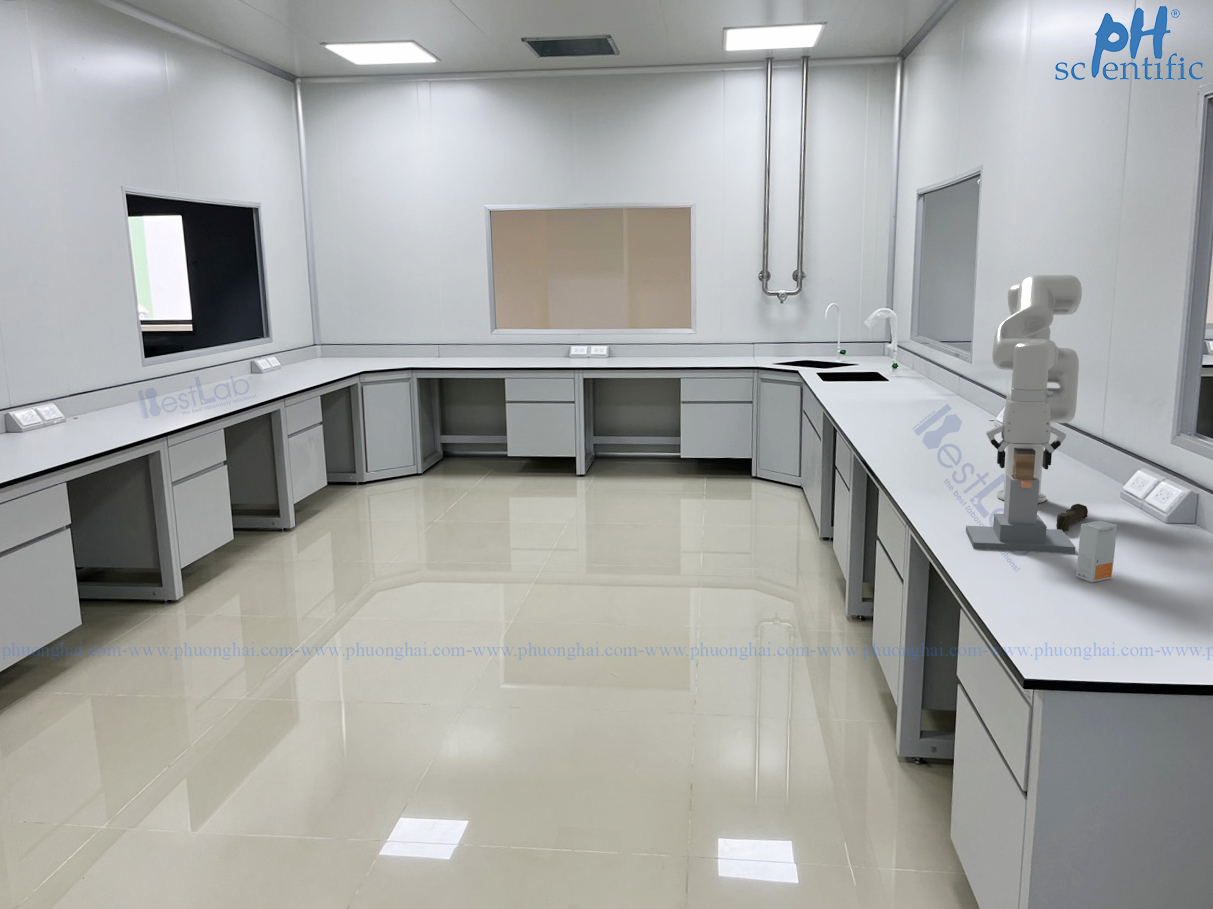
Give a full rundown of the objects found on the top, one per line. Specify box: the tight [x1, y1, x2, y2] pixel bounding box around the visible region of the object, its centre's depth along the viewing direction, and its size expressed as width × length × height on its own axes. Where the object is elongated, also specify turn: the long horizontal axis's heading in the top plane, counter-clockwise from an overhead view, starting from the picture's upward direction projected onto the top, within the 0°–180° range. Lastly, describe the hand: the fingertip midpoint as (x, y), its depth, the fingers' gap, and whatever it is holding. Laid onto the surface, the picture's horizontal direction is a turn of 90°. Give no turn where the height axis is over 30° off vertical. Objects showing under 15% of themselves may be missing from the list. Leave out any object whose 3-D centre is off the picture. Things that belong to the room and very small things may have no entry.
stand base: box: [965, 474, 1076, 554], centre depth 220 cm, size 14×22×16 cm, turn 76°
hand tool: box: [1055, 503, 1089, 533], centre depth 234 cm, size 19×4×5 cm, turn 136°
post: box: [1012, 447, 1036, 480], centre depth 219 cm, size 4×4×17 cm
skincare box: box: [1075, 520, 1118, 583], centre depth 195 cm, size 6×4×12 cm
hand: (1023, 467), depth 218 cm, fingers open, 9 cm apart
